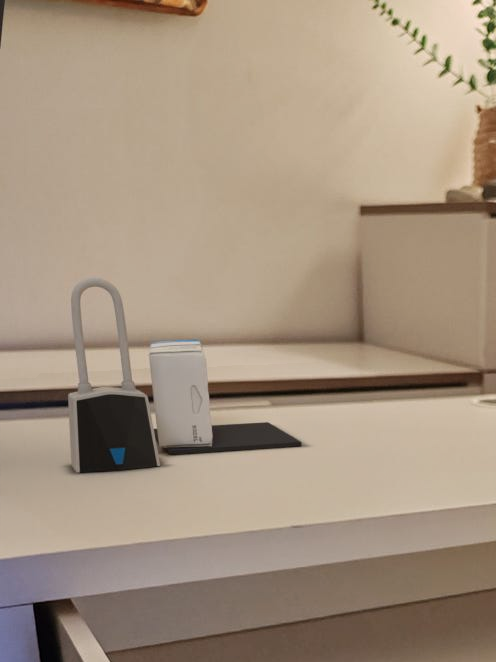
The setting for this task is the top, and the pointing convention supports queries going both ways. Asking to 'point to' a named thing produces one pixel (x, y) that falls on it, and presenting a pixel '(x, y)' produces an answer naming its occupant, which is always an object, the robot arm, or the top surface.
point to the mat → (240, 438)
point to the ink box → (180, 393)
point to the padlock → (108, 406)
